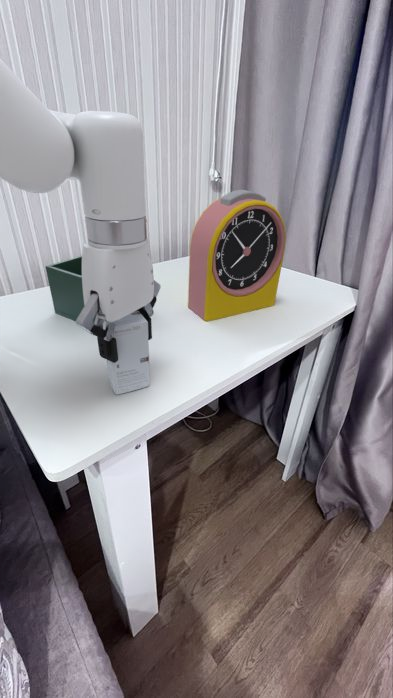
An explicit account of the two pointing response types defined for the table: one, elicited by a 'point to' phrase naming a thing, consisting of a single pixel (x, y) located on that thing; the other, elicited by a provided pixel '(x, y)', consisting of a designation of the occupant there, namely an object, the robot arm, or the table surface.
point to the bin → (67, 287)
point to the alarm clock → (235, 256)
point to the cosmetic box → (130, 354)
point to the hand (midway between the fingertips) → (127, 346)
